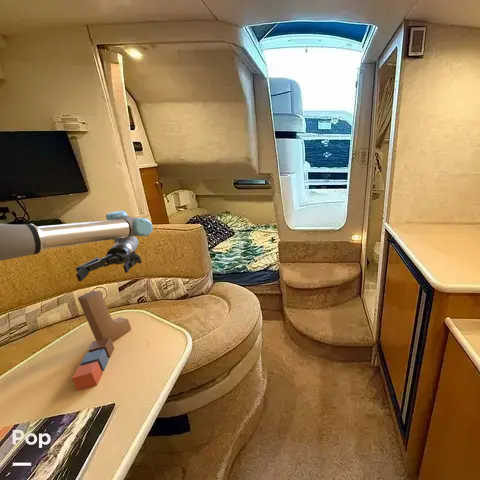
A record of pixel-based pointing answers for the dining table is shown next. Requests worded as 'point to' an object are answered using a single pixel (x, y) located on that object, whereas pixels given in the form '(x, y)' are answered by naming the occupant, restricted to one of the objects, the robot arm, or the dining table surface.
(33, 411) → the dining table surface
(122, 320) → the wooden block
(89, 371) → the cube row
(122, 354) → the dining table surface
